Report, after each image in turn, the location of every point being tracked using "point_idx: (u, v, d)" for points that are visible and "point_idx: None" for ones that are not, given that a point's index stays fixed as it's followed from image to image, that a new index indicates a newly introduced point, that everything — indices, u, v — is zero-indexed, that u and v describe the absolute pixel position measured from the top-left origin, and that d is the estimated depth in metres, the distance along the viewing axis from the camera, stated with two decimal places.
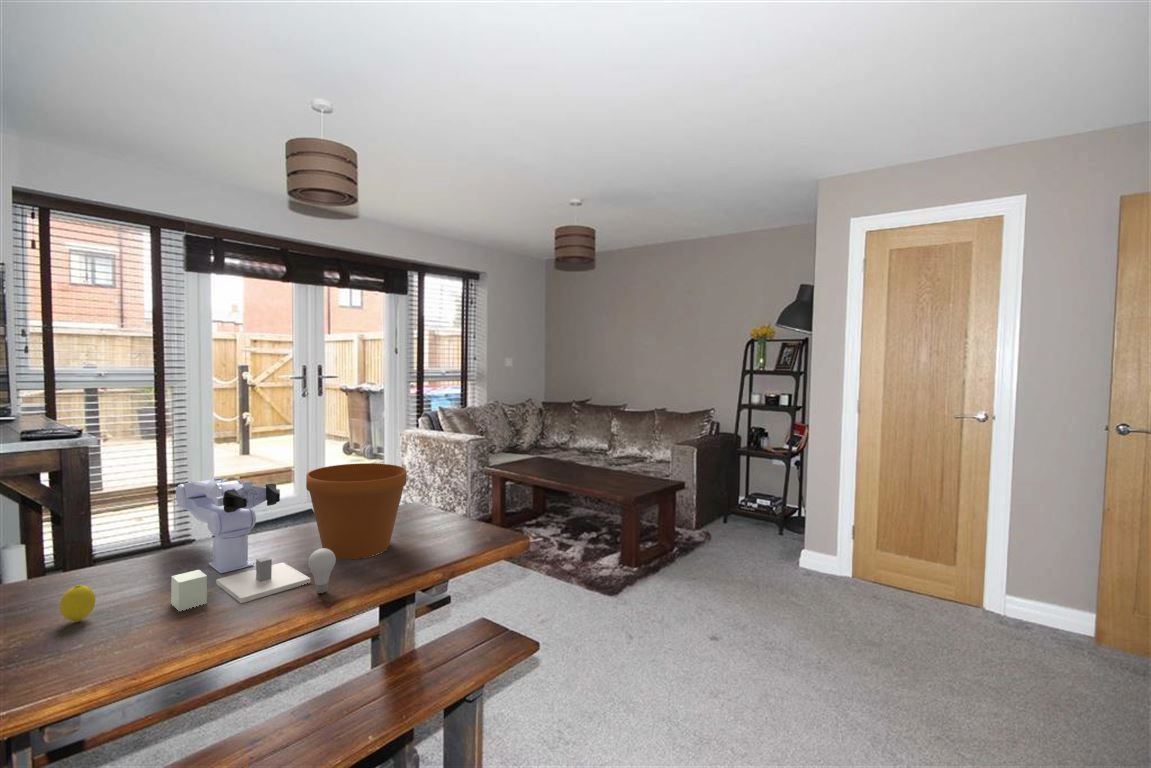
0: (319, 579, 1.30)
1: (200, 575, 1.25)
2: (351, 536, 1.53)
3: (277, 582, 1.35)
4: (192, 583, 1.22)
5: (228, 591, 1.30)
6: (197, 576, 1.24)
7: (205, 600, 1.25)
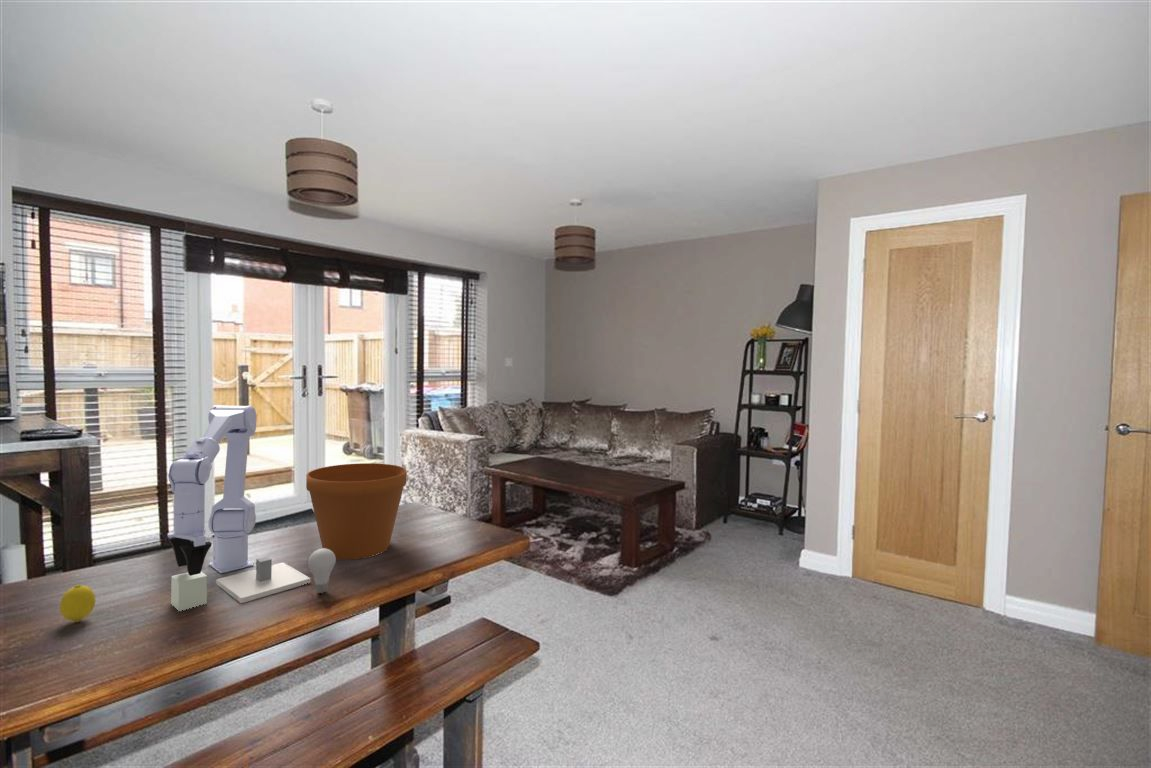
0: (319, 579, 1.30)
1: (200, 575, 1.25)
2: (351, 536, 1.53)
3: (277, 582, 1.35)
4: (192, 583, 1.22)
5: (228, 591, 1.30)
6: (197, 576, 1.24)
7: (205, 600, 1.25)
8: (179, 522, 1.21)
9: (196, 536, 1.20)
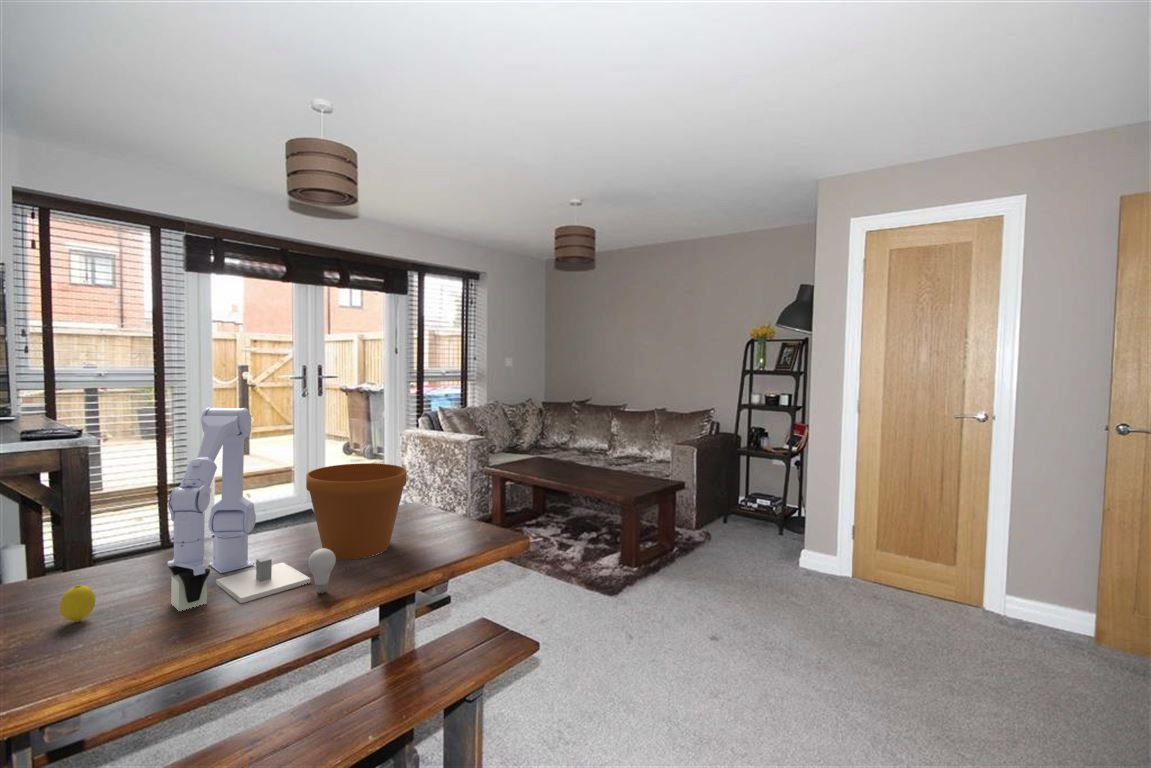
0: (319, 579, 1.30)
1: None
2: (351, 536, 1.53)
3: (277, 582, 1.35)
4: None
5: (228, 591, 1.30)
6: None
7: (205, 600, 1.25)
8: (179, 550, 1.21)
9: (196, 565, 1.20)
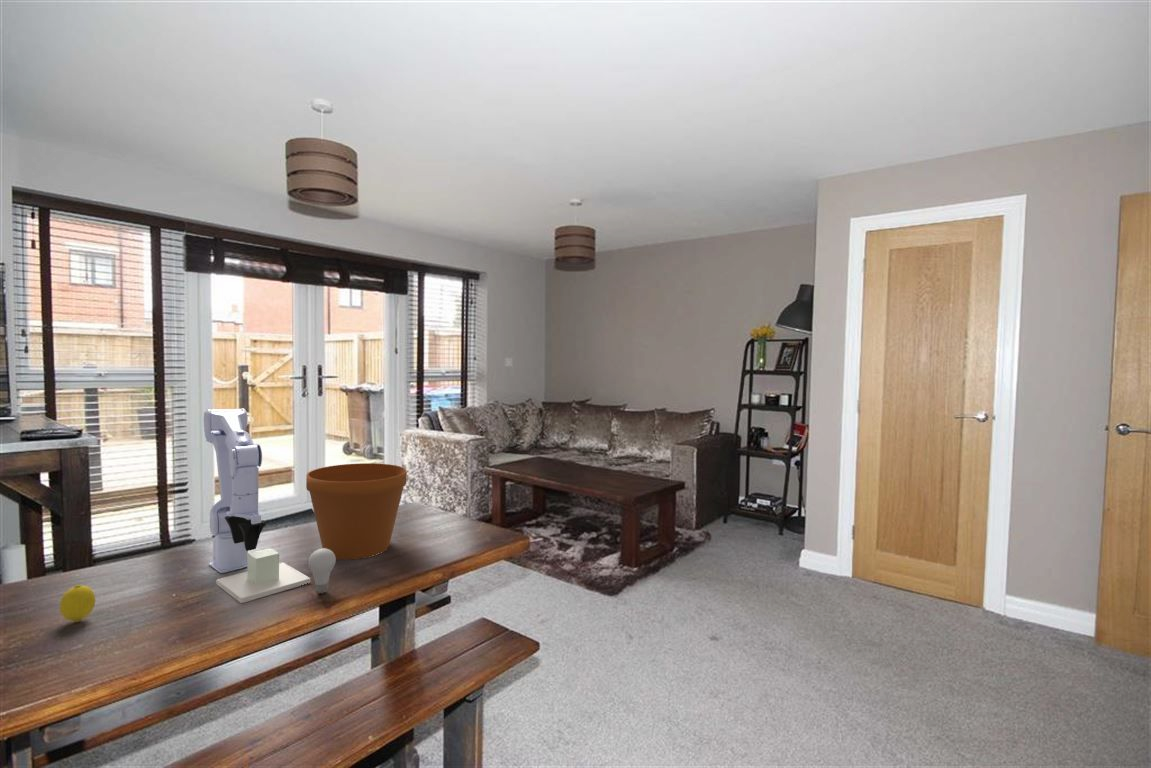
0: (319, 579, 1.30)
1: (273, 552, 1.37)
2: (351, 536, 1.53)
3: (277, 582, 1.35)
4: (267, 559, 1.35)
5: (228, 591, 1.30)
6: (271, 553, 1.36)
7: (278, 575, 1.37)
8: (237, 502, 1.33)
9: (253, 515, 1.33)
